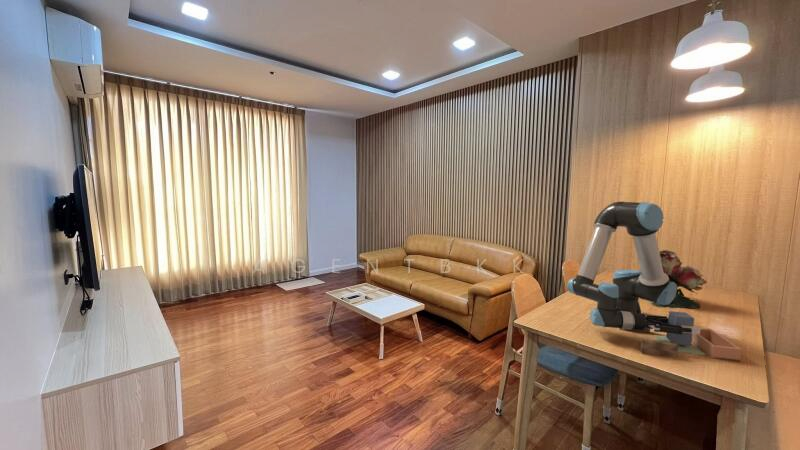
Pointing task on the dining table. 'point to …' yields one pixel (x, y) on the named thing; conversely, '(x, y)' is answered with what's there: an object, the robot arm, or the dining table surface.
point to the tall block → (679, 320)
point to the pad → (681, 346)
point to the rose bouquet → (680, 280)
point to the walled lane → (657, 346)
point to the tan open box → (716, 345)
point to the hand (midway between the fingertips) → (694, 327)
